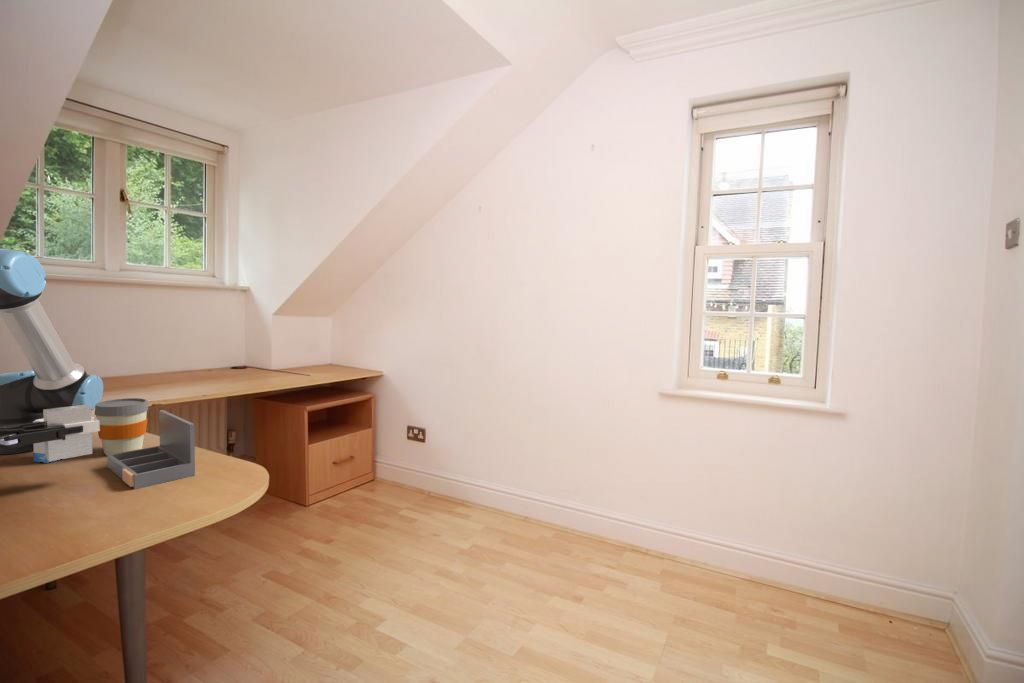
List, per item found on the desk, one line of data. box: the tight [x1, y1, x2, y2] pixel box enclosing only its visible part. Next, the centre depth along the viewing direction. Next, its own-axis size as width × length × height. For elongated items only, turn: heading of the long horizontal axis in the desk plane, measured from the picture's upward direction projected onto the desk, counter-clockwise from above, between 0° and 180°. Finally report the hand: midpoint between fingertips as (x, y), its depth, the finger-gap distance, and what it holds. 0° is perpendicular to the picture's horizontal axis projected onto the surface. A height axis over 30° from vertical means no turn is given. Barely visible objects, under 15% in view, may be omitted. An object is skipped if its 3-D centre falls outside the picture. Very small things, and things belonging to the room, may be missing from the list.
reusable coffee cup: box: [94, 397, 149, 456], centre depth 144 cm, size 13×13×15 cm
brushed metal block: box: [43, 405, 93, 462], centre depth 118 cm, size 4×8×12 cm, turn 143°
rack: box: [106, 409, 196, 490], centre depth 129 cm, size 23×14×14 cm, turn 53°
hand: (96, 423), depth 122 cm, fingers closed on brushed metal block, 4 cm apart
